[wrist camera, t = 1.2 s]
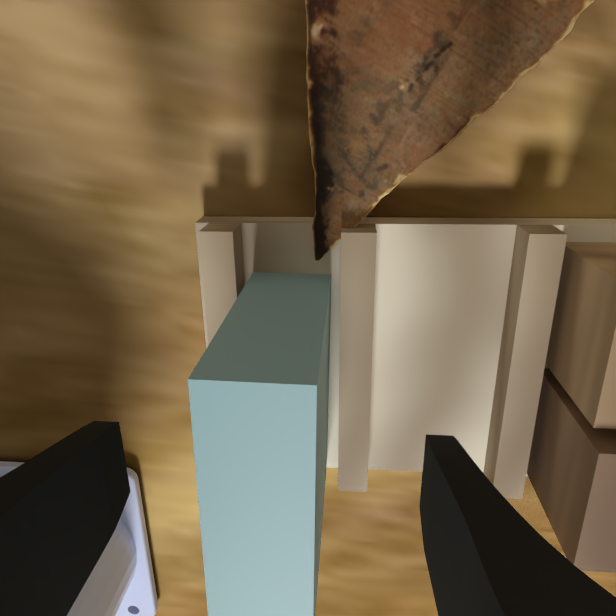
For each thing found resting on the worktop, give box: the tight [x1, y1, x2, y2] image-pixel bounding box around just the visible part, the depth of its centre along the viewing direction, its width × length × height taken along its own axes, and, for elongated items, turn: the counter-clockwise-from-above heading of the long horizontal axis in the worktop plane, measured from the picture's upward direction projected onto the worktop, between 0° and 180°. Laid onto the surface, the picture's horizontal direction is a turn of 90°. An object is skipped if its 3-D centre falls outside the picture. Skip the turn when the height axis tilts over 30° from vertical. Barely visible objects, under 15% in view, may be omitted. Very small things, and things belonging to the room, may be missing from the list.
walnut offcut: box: [527, 368, 616, 573], centre depth 15 cm, size 2×4×4 cm, turn 1°
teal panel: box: [188, 272, 332, 616], centre depth 14 cm, size 2×7×7 cm, turn 0°
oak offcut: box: [545, 242, 616, 429], centre depth 14 cm, size 2×4×4 cm, turn 1°
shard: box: [305, 0, 595, 261], centre depth 14 cm, size 11×8×2 cm
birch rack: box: [195, 216, 616, 499], centre depth 17 cm, size 15×9×2 cm, turn 91°
